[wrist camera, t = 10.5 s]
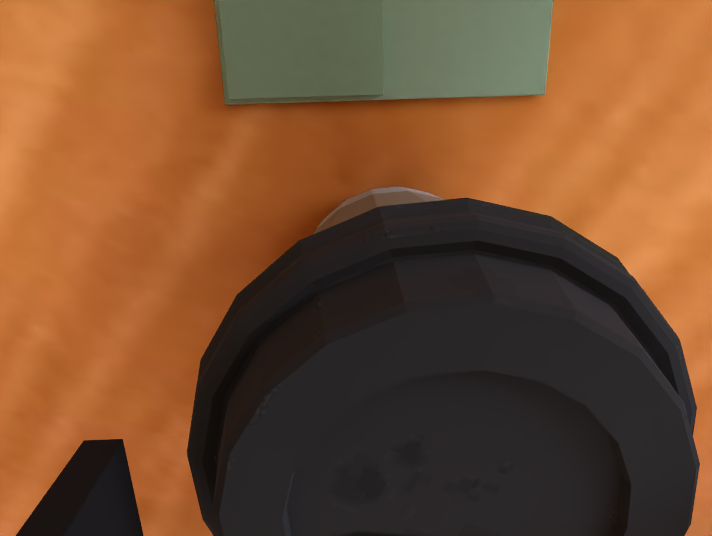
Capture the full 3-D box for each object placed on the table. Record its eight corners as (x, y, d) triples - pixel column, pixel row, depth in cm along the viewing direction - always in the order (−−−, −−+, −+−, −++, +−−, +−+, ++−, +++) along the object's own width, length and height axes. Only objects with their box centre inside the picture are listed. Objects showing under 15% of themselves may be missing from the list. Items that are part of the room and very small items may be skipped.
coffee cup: (232, 329, 25) (91, 651, 11) (315, 94, 22) (267, 117, 8) (449, 402, 27) (572, 763, 13) (558, 194, 23) (893, 368, 9)
